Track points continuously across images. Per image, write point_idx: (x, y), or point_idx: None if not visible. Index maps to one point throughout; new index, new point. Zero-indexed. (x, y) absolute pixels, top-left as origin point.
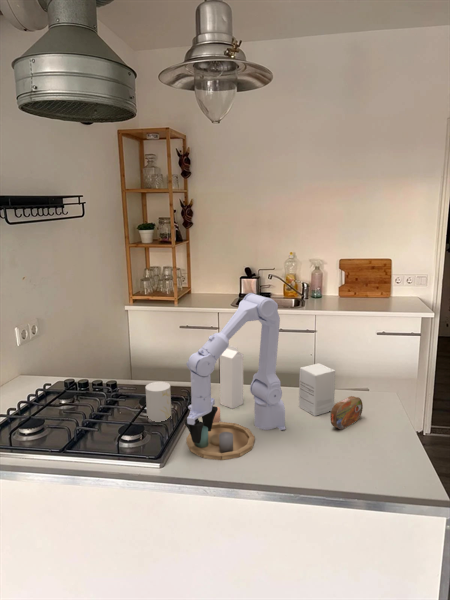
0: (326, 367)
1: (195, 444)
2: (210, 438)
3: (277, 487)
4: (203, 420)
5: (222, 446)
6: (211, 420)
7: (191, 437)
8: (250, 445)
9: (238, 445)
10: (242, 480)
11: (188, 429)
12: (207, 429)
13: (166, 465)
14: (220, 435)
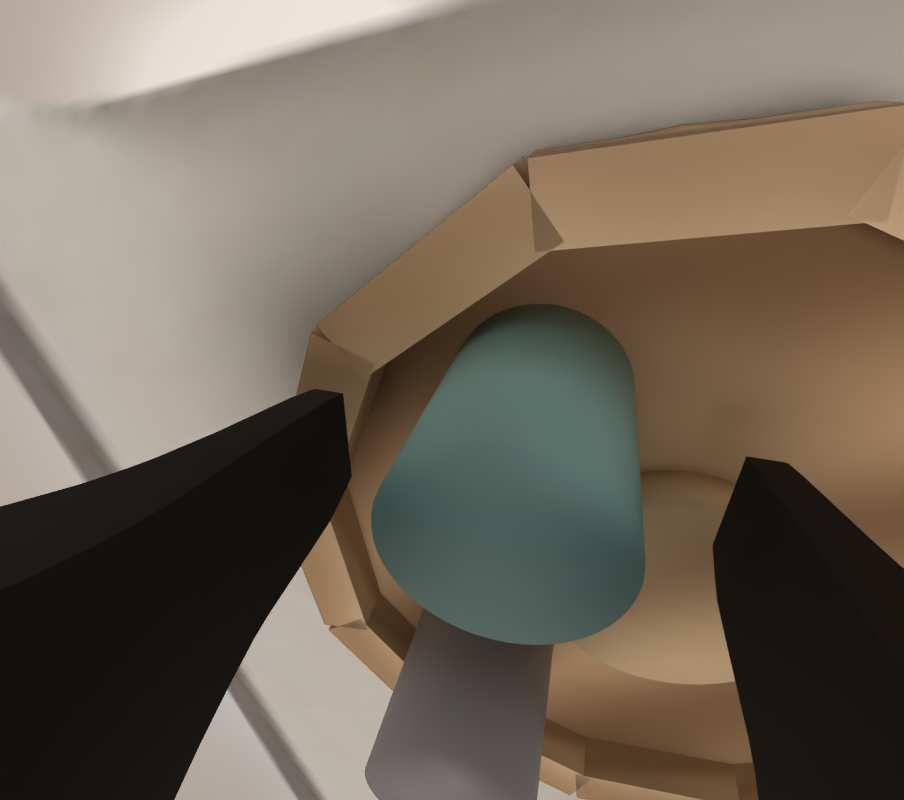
0: None
1: (472, 335)
2: (726, 455)
3: (297, 776)
4: (827, 612)
5: (402, 666)
6: (761, 781)
7: (260, 412)
8: (575, 790)
9: (617, 693)
10: (259, 672)
11: (48, 497)
12: (514, 638)
13: (51, 116)
14: (415, 758)
